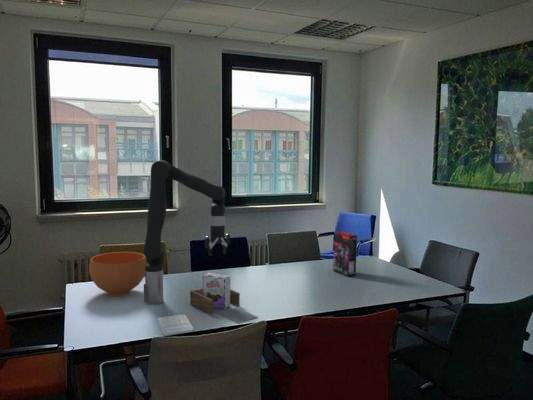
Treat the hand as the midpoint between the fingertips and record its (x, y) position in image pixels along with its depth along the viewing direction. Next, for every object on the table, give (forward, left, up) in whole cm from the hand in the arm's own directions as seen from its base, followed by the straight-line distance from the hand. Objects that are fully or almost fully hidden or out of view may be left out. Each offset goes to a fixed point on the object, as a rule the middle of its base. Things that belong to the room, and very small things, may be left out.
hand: (217, 254), depth 234 cm
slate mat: (-2, -20, -26) cm, 34 cm away
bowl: (-33, +49, -27) cm, 65 cm away
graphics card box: (+101, -3, -27) cm, 104 cm away
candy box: (-2, -2, -27) cm, 27 cm away
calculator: (-32, -12, -27) cm, 44 cm away
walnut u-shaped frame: (-2, -1, -26) cm, 27 cm away
